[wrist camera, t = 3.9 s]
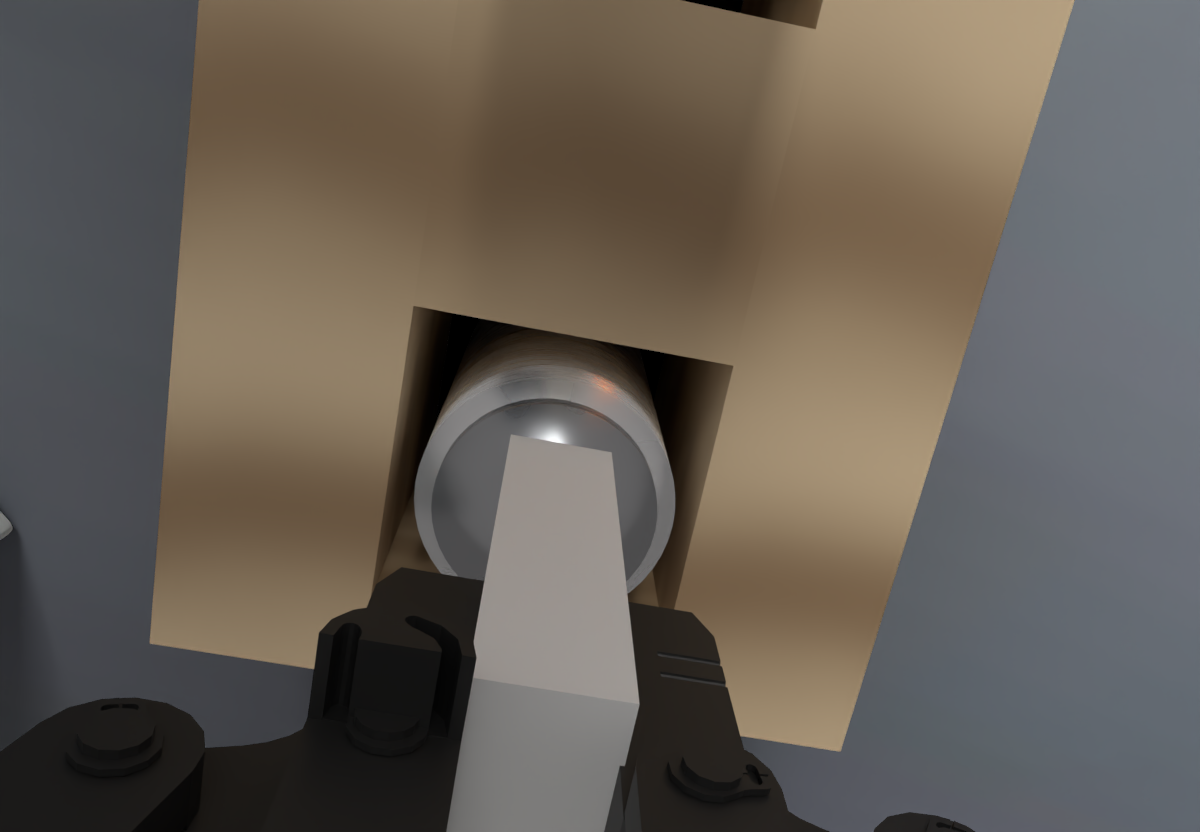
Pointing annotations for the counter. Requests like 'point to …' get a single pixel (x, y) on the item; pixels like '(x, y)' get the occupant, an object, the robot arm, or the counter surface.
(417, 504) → the aluminium peg
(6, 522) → the supplement box
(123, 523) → the counter surface
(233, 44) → the oak socket block
